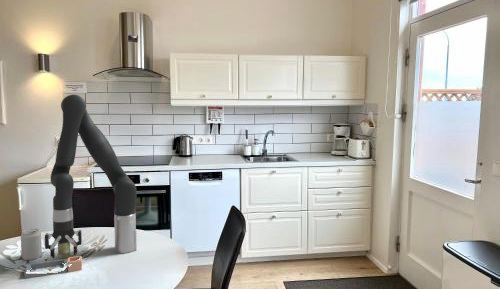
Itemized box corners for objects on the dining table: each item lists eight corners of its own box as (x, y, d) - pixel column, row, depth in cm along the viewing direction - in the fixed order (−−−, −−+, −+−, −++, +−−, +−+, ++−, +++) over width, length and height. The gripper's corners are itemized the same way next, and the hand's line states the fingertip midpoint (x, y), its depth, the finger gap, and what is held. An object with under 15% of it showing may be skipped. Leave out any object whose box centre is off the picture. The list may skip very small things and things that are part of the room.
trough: (68, 263, 149) (67, 258, 148) (66, 272, 141) (66, 267, 140) (28, 268, 143) (28, 263, 143) (24, 278, 135) (24, 273, 135)
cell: (70, 257, 154) (69, 238, 153) (69, 261, 150) (69, 242, 149) (58, 258, 152) (58, 239, 152) (57, 263, 148) (57, 243, 147)
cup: (81, 264, 147) (81, 255, 147) (81, 270, 143) (81, 260, 142) (68, 266, 145) (68, 257, 145) (67, 272, 141) (67, 262, 140)
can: (32, 261, 149) (31, 234, 148) (17, 260, 150) (16, 232, 149) (45, 254, 156) (45, 228, 155) (31, 252, 158) (30, 226, 156)
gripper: (82, 214, 156) (82, 250, 157) (44, 217, 150) (46, 254, 152) (81, 219, 149) (82, 256, 151) (42, 223, 143) (43, 262, 145)
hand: (64, 255), depth 151 cm, fingers open, 7 cm apart
